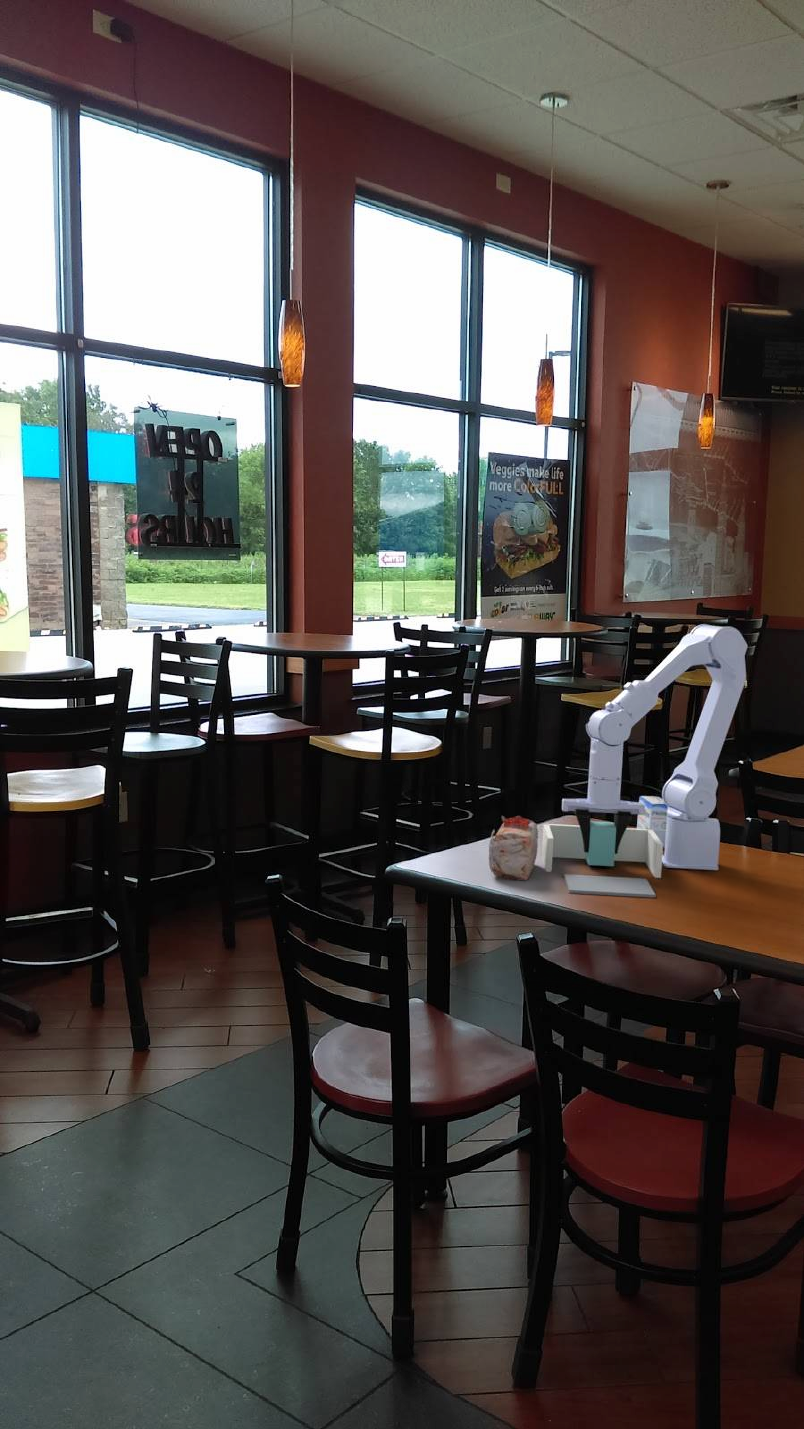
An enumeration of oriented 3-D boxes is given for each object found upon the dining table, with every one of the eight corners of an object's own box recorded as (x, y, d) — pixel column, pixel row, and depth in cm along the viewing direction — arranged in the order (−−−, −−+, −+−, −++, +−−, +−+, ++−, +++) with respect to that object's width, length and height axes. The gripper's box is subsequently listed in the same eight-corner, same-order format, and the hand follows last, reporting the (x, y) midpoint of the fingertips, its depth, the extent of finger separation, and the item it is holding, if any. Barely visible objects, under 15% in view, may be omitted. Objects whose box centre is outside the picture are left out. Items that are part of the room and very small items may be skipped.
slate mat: (646, 881, 195) (646, 878, 194) (655, 897, 185) (655, 894, 185) (564, 876, 195) (564, 874, 195) (569, 892, 185) (569, 889, 185)
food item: (532, 883, 191) (535, 826, 189) (485, 879, 192) (488, 822, 191) (538, 864, 204) (541, 810, 203) (494, 860, 205) (497, 807, 204)
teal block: (610, 859, 206) (613, 822, 205) (613, 866, 201) (616, 827, 201) (585, 858, 206) (588, 821, 205) (588, 864, 202) (590, 826, 201)
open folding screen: (650, 861, 209) (652, 829, 209) (660, 877, 197) (663, 844, 197) (541, 855, 210) (543, 823, 210) (545, 871, 198) (547, 838, 198)
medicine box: (635, 837, 229) (638, 795, 228) (656, 838, 229) (659, 796, 228) (648, 847, 221) (651, 803, 220) (670, 847, 221) (673, 804, 220)
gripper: (642, 775, 205) (637, 848, 207) (562, 771, 206) (558, 844, 208) (648, 782, 198) (643, 858, 200) (565, 778, 199) (561, 853, 201)
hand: (600, 851), depth 204 cm, fingers closed on teal block, 4 cm apart
